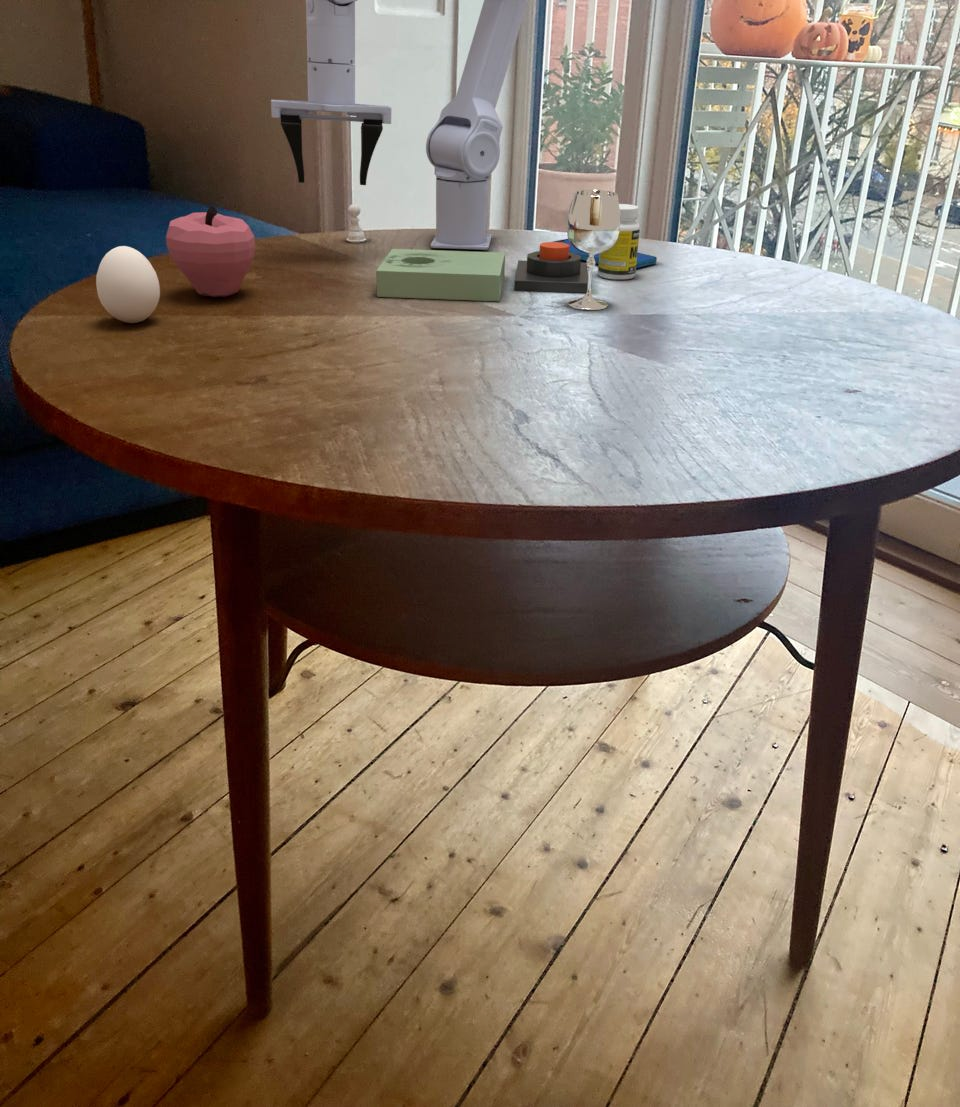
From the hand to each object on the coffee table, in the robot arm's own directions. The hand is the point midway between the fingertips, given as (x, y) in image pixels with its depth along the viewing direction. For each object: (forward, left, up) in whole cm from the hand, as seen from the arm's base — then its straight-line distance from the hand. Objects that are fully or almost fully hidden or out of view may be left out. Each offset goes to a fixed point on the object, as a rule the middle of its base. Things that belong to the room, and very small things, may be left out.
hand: (332, 183), depth 125 cm
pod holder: (+13, +15, -10) cm, 22 cm away
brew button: (+8, +28, -7) cm, 30 cm away
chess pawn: (-12, 0, -10) cm, 16 cm away
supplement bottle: (+4, +36, -10) cm, 38 cm away
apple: (+21, -10, -10) cm, 25 cm away
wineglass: (+19, +32, -10) cm, 39 cm away
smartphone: (-6, +34, -10) cm, 36 cm away
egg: (+33, -15, -10) cm, 37 cm away
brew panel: (+8, +28, -10) cm, 31 cm away
